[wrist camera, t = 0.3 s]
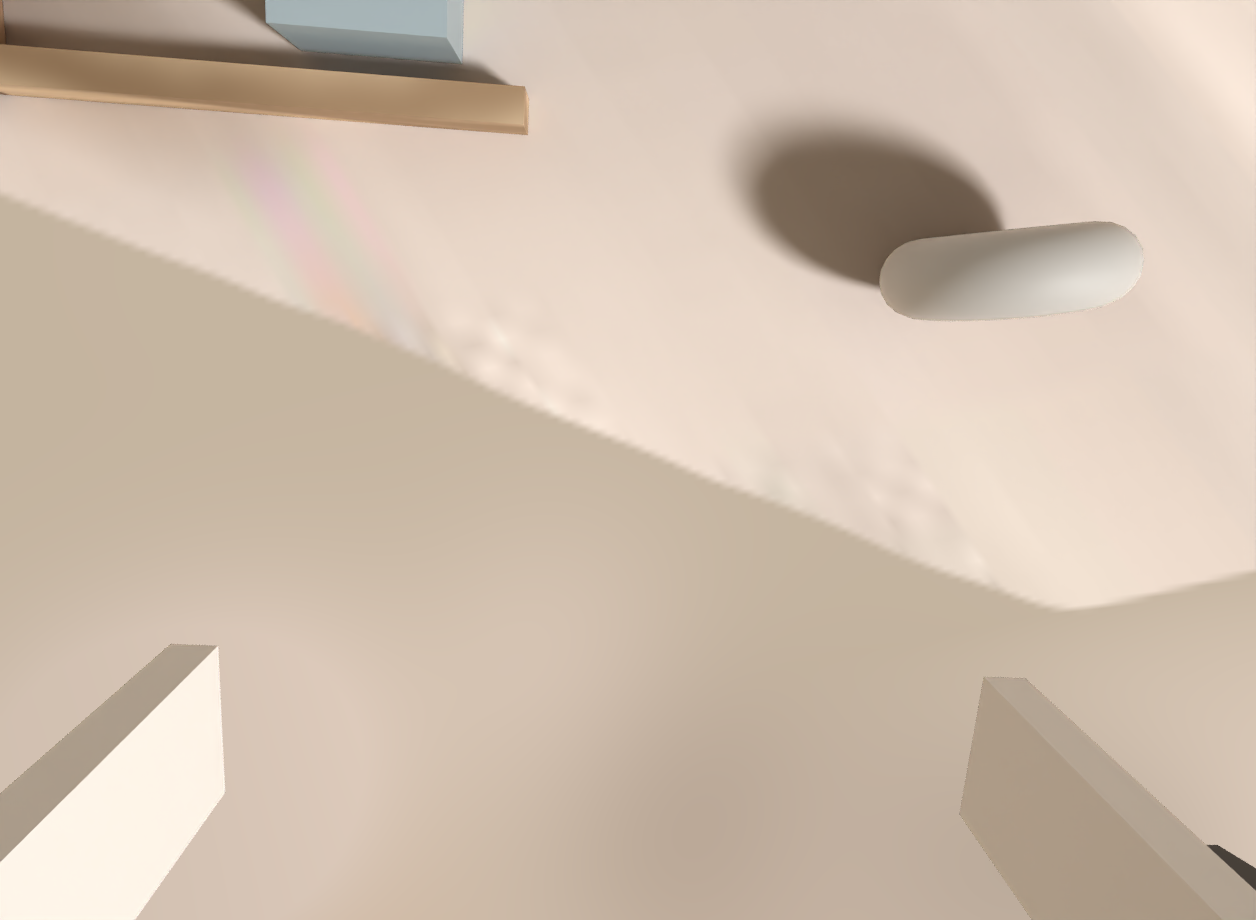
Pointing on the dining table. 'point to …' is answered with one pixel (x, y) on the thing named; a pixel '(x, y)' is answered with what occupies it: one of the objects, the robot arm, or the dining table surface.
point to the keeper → (372, 27)
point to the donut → (1012, 272)
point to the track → (260, 89)
